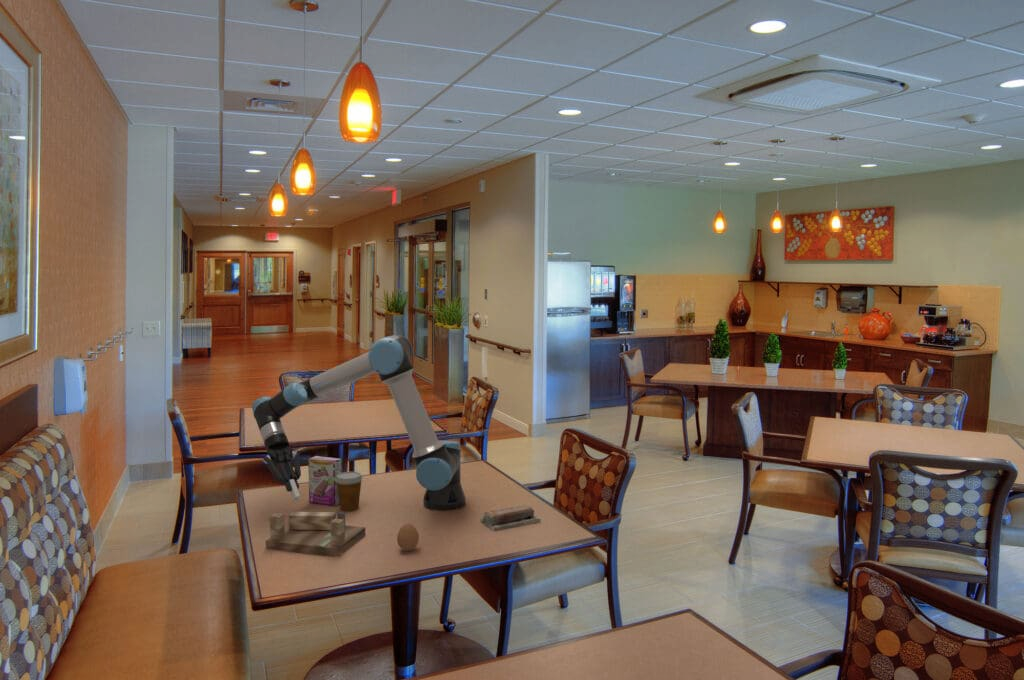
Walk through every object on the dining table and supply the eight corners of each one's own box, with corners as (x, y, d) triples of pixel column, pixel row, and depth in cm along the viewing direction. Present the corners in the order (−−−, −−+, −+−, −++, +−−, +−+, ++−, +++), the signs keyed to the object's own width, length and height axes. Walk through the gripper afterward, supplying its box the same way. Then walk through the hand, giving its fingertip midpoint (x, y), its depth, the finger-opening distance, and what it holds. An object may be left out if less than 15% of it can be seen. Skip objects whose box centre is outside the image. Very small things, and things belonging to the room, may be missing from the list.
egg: (403, 545, 218) (403, 519, 217) (422, 547, 216) (422, 521, 215) (393, 553, 212) (393, 526, 211) (413, 555, 210) (412, 528, 209)
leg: (336, 526, 226) (335, 512, 225) (332, 530, 222) (332, 516, 222) (292, 525, 226) (292, 511, 226) (288, 529, 223) (288, 515, 222)
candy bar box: (308, 503, 257) (307, 458, 255) (316, 499, 261) (315, 455, 260) (335, 506, 253) (334, 461, 251) (342, 502, 258) (342, 458, 256)
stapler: (493, 518, 229) (479, 509, 238) (493, 532, 230) (479, 523, 239) (540, 509, 238) (526, 500, 247) (540, 523, 238) (526, 514, 247)
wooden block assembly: (365, 534, 226) (364, 505, 225) (337, 556, 209) (337, 524, 208) (298, 527, 232) (297, 498, 231) (265, 548, 215) (264, 517, 214)
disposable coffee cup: (366, 504, 256) (366, 471, 254) (358, 513, 246) (357, 479, 245) (340, 503, 257) (340, 470, 255) (331, 512, 247) (330, 478, 246)
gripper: (289, 441, 247) (311, 500, 237) (252, 447, 239) (274, 508, 228) (296, 429, 243) (319, 488, 232) (258, 435, 234) (280, 496, 224)
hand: (296, 498), depth 230 cm, fingers closed
